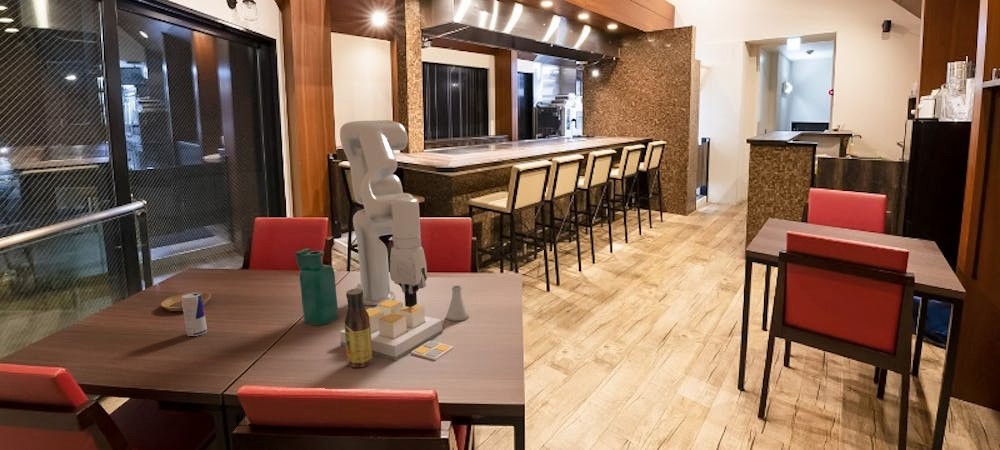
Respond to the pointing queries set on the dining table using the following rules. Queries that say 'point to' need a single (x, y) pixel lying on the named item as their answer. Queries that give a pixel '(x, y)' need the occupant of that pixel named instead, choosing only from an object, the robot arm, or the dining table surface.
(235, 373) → the dining table surface
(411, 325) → the button
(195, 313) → the energy drink
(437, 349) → the card
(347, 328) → the sauce bottle
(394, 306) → the button
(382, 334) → the button
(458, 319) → the flask
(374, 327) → the button
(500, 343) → the dining table surface
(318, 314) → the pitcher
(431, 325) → the button board
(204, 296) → the plant saucer
